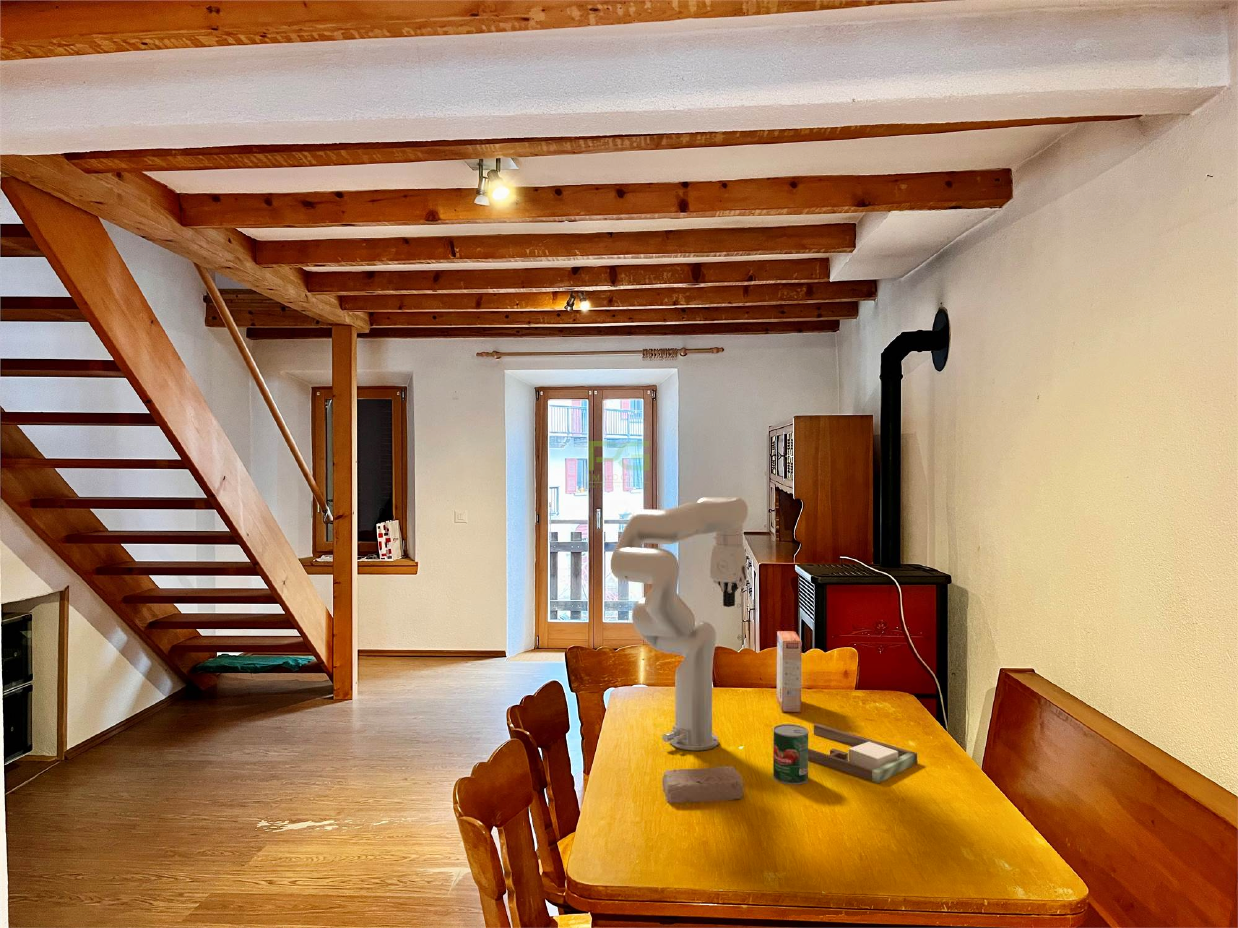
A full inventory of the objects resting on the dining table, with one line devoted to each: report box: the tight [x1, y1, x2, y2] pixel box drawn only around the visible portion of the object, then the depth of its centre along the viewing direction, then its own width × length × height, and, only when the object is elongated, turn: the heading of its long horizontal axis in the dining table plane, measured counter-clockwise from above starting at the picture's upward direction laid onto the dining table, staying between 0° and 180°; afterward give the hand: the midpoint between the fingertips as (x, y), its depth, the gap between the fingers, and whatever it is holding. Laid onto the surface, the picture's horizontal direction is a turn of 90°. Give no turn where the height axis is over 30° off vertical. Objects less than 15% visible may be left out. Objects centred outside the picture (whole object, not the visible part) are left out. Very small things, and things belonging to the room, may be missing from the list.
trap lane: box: [808, 723, 918, 784], centre depth 187 cm, size 18×28×2 cm, turn 42°
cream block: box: [848, 742, 898, 770], centre depth 181 cm, size 8×8×4 cm
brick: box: [662, 766, 744, 804], centre depth 165 cm, size 17×8×5 cm, turn 96°
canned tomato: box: [772, 723, 810, 786], centre depth 174 cm, size 8×8×11 cm
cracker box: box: [776, 630, 803, 713], centre depth 227 cm, size 14×6×21 cm, turn 174°
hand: (729, 605), depth 214 cm, fingers closed
